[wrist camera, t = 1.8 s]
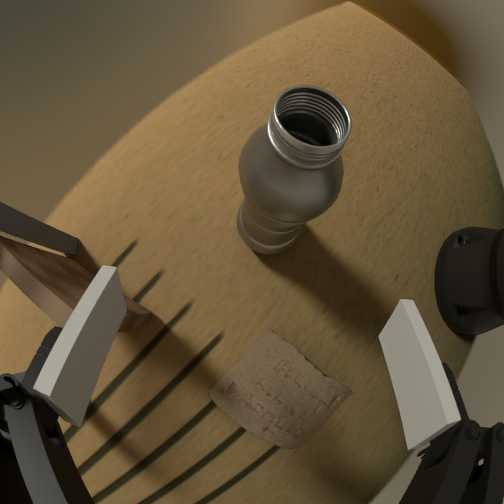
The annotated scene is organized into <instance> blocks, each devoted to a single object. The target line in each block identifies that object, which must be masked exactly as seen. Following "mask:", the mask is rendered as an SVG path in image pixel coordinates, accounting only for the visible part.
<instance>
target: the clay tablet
mask: <svg viewBox="0 0 504 504" xmlns="http://www.w3.org/2000/svg"><path fill="white" fill-rule="evenodd" d="M208 392H209V395H210V396H211V399H212V400H213V401H214V403H215V404H217V405H218V407H220V408H221V409H222V410H223V411H224V412H225V413H227V414H228V416H229V417H230V418H231V419H233V420H235V421H237V423H238V424H240V425H241V426H242V427H243V428H244V429H246V430H247V431H249V432H251V433H255V434H256V435H257V436H258V437H260V438H262V439H263V440H266V441H267V442H269V443H273V444H275V445H276V446H279V447H283V448H286V449H287V448H289V449H292V450H293V449H294V448H296V447H300V446H301V445H302V444H303V443H304V442H305V441H306V440H307V439H308V438H309V437H310V436H311V435H312V434H313V433H314V432H315V431H316V430H317V429H318V428H319V427H320V426H321V425H322V424H323V423H324V422H325V421H326V420H327V419H328V418H329V417H330V416H331V415H332V414H333V412H334V411H335V410H336V409H337V408H338V407H339V405H340V404H341V403H342V402H343V401H344V400H346V399H347V398H348V397H349V395H352V392H351V391H350V390H348V389H345V387H344V385H343V384H341V385H339V383H338V382H337V381H335V380H334V379H332V378H328V377H327V376H323V375H322V372H321V371H319V370H317V369H316V368H314V366H313V365H312V364H311V363H310V362H309V361H307V360H305V358H304V355H302V354H300V353H299V352H298V350H297V349H296V348H293V346H292V345H291V344H288V342H286V341H285V340H283V339H281V337H280V336H279V335H277V336H276V333H274V332H273V333H272V330H270V329H269V330H268V329H266V331H265V333H264V334H263V335H262V336H261V337H260V338H259V340H258V341H257V342H256V343H255V344H254V345H253V347H252V348H251V349H250V350H249V351H248V352H247V353H246V354H245V355H244V356H243V357H242V358H241V359H240V360H239V362H238V363H237V364H235V365H234V366H233V367H232V368H231V369H230V370H229V371H228V372H227V373H226V374H225V376H223V377H222V378H221V379H220V380H219V381H218V382H217V383H216V384H215V385H214V386H213V387H212V388H210V389H209V390H208Z"/></svg>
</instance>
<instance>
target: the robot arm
mask: <svg viewBox="0 0 504 504" xmlns="http://www.w3.org/2000/svg"><path fill="white" fill-rule="evenodd" d="M435 293H436V299H437V303H438V307H439V310H440V312H441V315H442V317H443V319H444V321H445V322H446V324H447V325H448V326H449V327H450V328H451V329H452V330H453V331H455V332H456V333H459V334H463V335H479V334H482V333H485V332H487V331H490V330H492V329H494V328H497V327H499V326H501V325H504V229H500V230H498V229H490V228H481V227H466V228H463V229H461V230H458V231H455V232H454V233H452V234H451V235H450V236H449V237H448V238H447V239H446V240H445V242H444V243H443V245H442V247H441V249H440V252H439V254H438V258H437V262H436V268H435ZM126 312H127V308H126V304H125V300H124V296H123V292H122V288H121V283H120V279H119V274H118V269H117V267H112V266H105V265H103V266H102V267H101V269H100V270H99V271H98V273H97V274H96V276H95V277H94V279H93V281H92V282H91V284H90V285H89V287H88V288H87V290H86V291H85V293H84V295H83V296H82V298H81V299H80V301H79V303H78V304H77V306H76V308H75V309H74V311H73V313H72V314H71V316H70V318H69V319H68V321H67V323H66V325H65V326H64V328H60V327H57V326H55V327H54V328H53V329H52V330H50V331H49V332H48V333H47V334H46V336H45V338H44V339H43V341H42V343H41V346H40V347H39V348H38V350H37V354H35V356H34V358H33V360H32V362H31V364H30V366H29V368H28V369H27V372H26V374H25V376H24V378H23V380H22V381H21V383H20V382H19V381H18V380H17V379H16V378H15V377H14V376H13V375H11V374H9V373H7V374H2V375H0V504H95V503H94V501H93V500H92V498H91V496H90V494H89V492H88V490H87V488H86V486H85V484H84V482H83V480H82V478H81V476H80V474H79V472H78V470H77V468H76V465H75V463H74V461H73V459H72V456H71V454H70V451H69V449H68V446H67V444H66V441H65V439H64V436H63V433H62V431H61V428H60V425H59V423H58V421H57V420H58V417H59V416H60V417H61V418H62V419H63V420H64V421H66V422H69V423H71V424H73V425H76V426H78V427H81V424H82V421H83V418H84V415H85V412H86V410H87V407H88V404H89V401H90V398H91V396H92V393H93V390H94V387H95V385H96V382H97V380H98V377H99V374H100V372H101V369H102V367H103V364H104V362H105V360H106V357H107V355H108V352H109V350H110V348H111V345H112V343H113V341H114V338H115V336H116V334H117V331H118V329H119V327H120V325H121V322H122V320H123V318H124V316H125V314H126ZM378 337H379V340H380V343H381V346H382V349H383V353H384V356H385V359H386V362H387V366H388V369H389V373H390V376H391V380H392V384H393V387H394V391H395V395H396V399H397V403H398V407H399V411H400V415H401V419H402V424H403V428H404V433H405V438H406V442H407V447H408V450H410V449H414V448H418V447H421V446H423V445H425V444H426V443H428V442H430V446H429V447H427V448H426V449H424V450H422V451H421V452H419V453H418V455H417V456H421V455H422V454H424V453H425V455H424V456H422V457H421V459H422V461H421V463H420V465H419V467H418V470H417V471H416V473H415V475H414V477H413V479H412V481H411V483H410V485H409V486H408V489H407V490H406V492H405V494H404V495H403V497H402V499H401V501H400V502H399V504H502V502H503V497H504V424H503V423H502V422H498V423H497V424H495V425H494V426H493V427H491V428H487V427H480V426H479V424H478V423H477V422H476V421H474V420H470V419H469V417H468V415H467V412H466V409H465V406H464V403H463V400H462V397H461V394H460V391H459V390H458V386H457V383H455V378H454V375H453V373H452V371H451V369H450V368H449V367H448V365H447V364H446V363H441V361H440V359H439V356H438V354H437V351H436V349H435V347H434V344H433V342H432V340H431V337H430V335H429V333H428V331H427V329H426V326H425V324H424V322H423V320H422V318H421V316H420V314H419V311H418V309H417V307H416V305H415V303H414V301H413V300H406V299H401V300H400V301H399V303H398V305H397V307H396V308H395V310H394V312H393V313H392V315H391V317H390V318H389V320H388V322H387V323H386V325H385V327H384V328H383V330H382V331H381V333H380V335H379V336H378ZM482 459H484V461H483V464H482V465H480V466H479V464H478V462H479V461H480V460H482Z"/></svg>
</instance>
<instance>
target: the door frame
mask: <svg viewBox="0 0 504 504" xmlns="http://www.w3.org/2000/svg"><path fill="white" fill-rule="evenodd" d="M0 231H2V232H5V233H7V234H10V235H13V236H15V237H18V238H21V239H24V240H26V241H29V242H32V243H35V244H38V245H41V246H44V247H47V248H50V249H53V250H56V251H59V252H62V253H66V254H72V255H76V250H77V245H78V240H79V239H78V238H76V237H73V236H71V235H69V234H67V233H64V232H62V231H60V230H58V229H56V228H53V227H51V226H49V225H47V224H45V223H43V222H41V221H38V220H36V219H34V218H32V217H30V216H27V215H26V214H24V213H21V212H20V211H17V210H16V209H14V208H12V207H10V206H7V205H6V204H4V203H2V202H0ZM26 372H27V371H24V372H20V373H17V374H13V376H14V377H15V378H16V379H17V380H18V381H19V382H20V383H21V381H22V380H23V378H24V376H25V374H26Z"/></svg>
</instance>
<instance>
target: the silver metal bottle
mask: <svg viewBox="0 0 504 504" xmlns="http://www.w3.org/2000/svg"><path fill="white" fill-rule="evenodd" d="M351 127H352V123H351V117H350V114H349V112H348V110H347V108H346V107H345V105H344V104H343V103H342V102H341V100H339V99H338V98H337V97H336V96H335V95H333V94H332V93H330V92H329V91H327V90H325V89H322V88H319V87H316V86H311V85H296V86H292V87H289V88H287V89H285V90H284V91H282V92H281V93H280V94H279V95H278V97H277V98H276V100H275V102H274V105H273V108H272V113H271V115H270V117H269V120H268V123H266V124H264V125H262V126H261V127H259V128H258V129H257V130H256V131H255V132H254V133H253V134H252V135H251V136H250V137H249V139H248V140H247V142H246V143H245V145H244V147H243V148H242V151H241V154H240V157H239V176H240V183H241V186H242V189H243V192H244V195H245V199H244V200H243V202H242V204H241V206H240V208H239V210H238V214H237V228H238V231H239V234H240V236H241V238H242V240H243V241H244V242H245V243H246V245H247V246H249V247H250V248H251V249H252V250H254V251H256V252H258V253H262V254H270V255H271V254H278V253H281V252H283V251H285V250H287V249H289V248H290V247H291V246H292V245H293V244H294V242H295V241H296V240H297V238H298V236H299V233H300V231H301V227H302V225H303V224H304V223H306V222H308V221H310V220H313V219H315V218H316V217H318V216H320V215H321V214H323V213H324V212H325V211H327V210H328V209H329V208H330V207H331V206H332V205H333V203H334V202H335V201H336V199H337V198H338V195H339V193H340V190H341V186H342V180H343V174H344V170H343V161H342V158H341V153H342V150H343V148H344V144H345V143H346V141H347V140H348V138H349V135H350V132H351Z"/></svg>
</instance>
